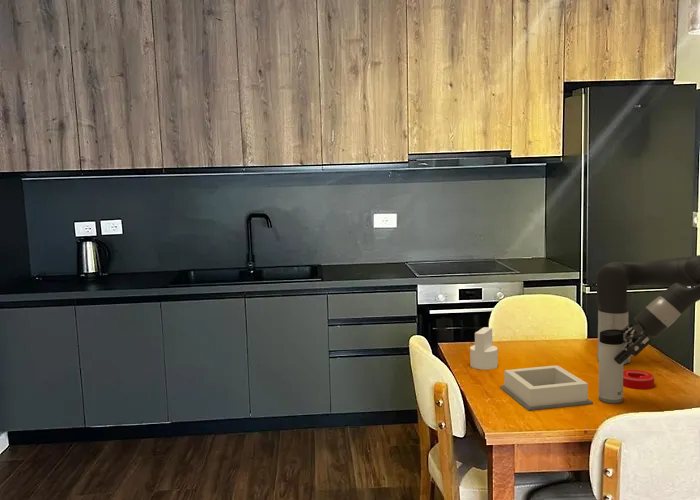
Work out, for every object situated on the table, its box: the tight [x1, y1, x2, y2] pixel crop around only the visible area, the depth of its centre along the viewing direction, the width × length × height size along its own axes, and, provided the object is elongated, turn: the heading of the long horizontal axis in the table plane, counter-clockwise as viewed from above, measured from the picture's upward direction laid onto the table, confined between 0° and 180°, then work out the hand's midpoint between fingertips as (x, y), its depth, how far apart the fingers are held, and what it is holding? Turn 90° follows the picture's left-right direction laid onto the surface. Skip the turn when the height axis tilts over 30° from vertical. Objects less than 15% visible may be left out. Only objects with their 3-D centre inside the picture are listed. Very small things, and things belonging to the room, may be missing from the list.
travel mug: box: [598, 329, 625, 405], centre depth 174 cm, size 6×7×20 cm
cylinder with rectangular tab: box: [469, 326, 499, 371], centre depth 209 cm, size 9×9×12 cm
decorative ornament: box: [623, 369, 655, 390], centre depth 187 cm, size 10×10×3 cm
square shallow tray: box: [499, 365, 594, 412], centre depth 180 cm, size 19×19×6 cm
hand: (612, 357), depth 173 cm, fingers open, 8 cm apart
